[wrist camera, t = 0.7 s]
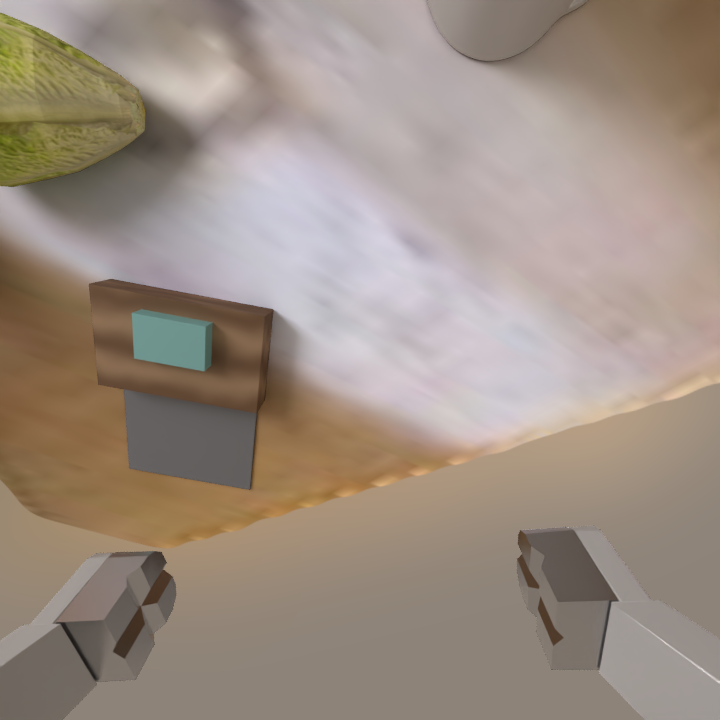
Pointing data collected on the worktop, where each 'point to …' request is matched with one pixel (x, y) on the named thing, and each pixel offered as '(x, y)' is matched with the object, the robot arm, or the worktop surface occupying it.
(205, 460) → the grey mat
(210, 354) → the teal block
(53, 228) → the worktop surface
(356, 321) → the worktop surface
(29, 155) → the lettuce
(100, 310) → the board
